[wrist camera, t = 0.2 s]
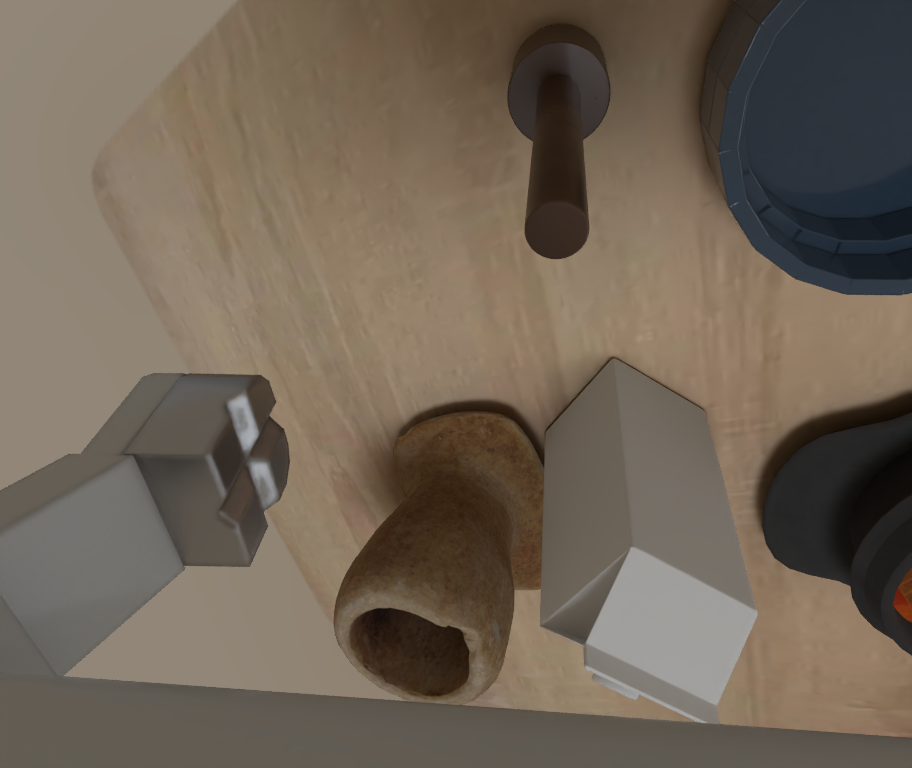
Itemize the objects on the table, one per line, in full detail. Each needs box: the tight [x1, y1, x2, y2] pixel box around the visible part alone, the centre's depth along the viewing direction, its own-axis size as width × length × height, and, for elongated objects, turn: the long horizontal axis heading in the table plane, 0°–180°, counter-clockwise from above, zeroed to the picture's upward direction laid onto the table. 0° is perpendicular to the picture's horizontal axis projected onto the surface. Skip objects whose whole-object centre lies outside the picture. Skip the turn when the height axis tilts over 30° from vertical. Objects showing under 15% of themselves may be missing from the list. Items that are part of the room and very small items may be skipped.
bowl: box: [700, 0, 912, 295], centre depth 31 cm, size 16×16×6 cm
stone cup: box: [334, 411, 544, 705], centre depth 46 cm, size 15×12×15 cm
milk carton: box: [540, 358, 758, 724], centre depth 39 cm, size 7×7×19 cm
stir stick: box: [508, 24, 610, 259], centre depth 28 cm, size 4×4×18 cm
